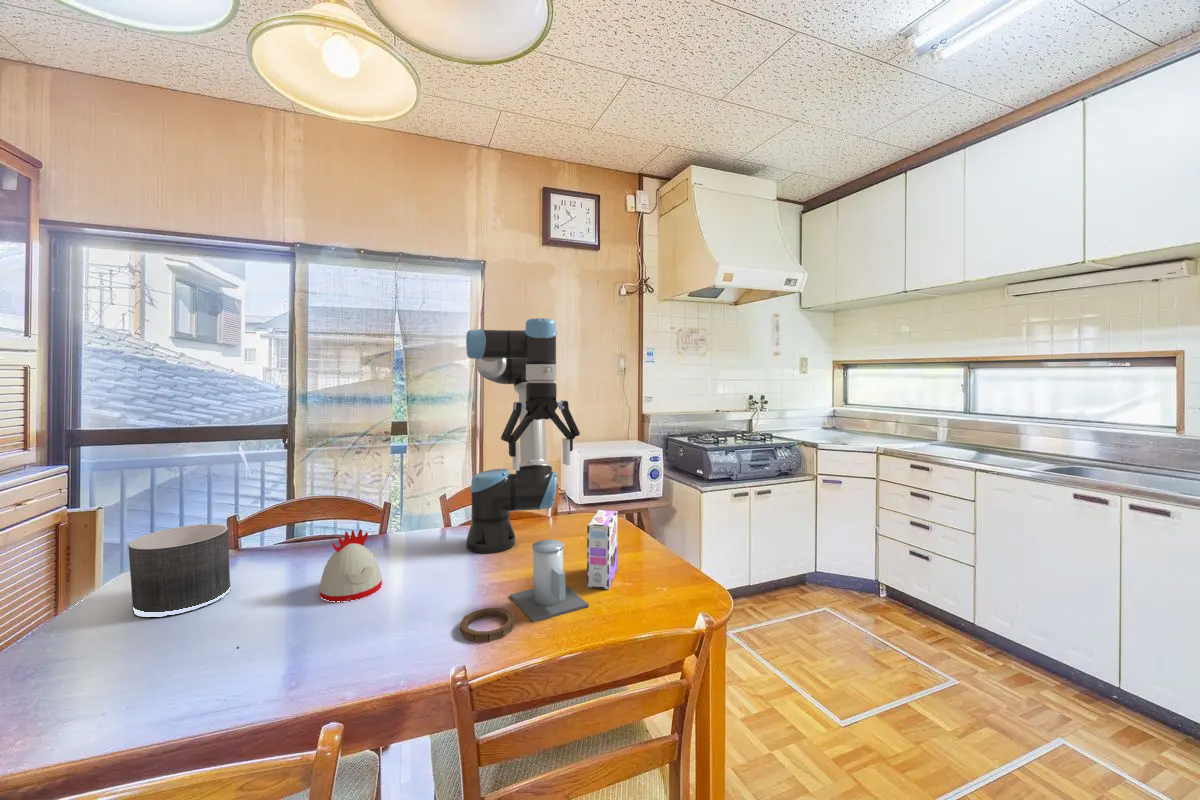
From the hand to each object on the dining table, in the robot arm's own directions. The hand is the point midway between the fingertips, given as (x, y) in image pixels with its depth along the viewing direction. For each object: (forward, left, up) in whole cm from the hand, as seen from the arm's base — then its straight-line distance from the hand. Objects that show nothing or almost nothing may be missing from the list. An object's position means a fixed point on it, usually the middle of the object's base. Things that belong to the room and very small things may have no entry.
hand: (541, 467), depth 121 cm
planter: (-37, -77, -31) cm, 91 cm away
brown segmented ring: (+12, -18, -31) cm, 38 cm away
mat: (+8, -2, -31) cm, 32 cm away
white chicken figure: (-23, -42, -31) cm, 57 cm away
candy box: (+3, +16, -31) cm, 35 cm away
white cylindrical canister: (+10, -2, -30) cm, 32 cm away
